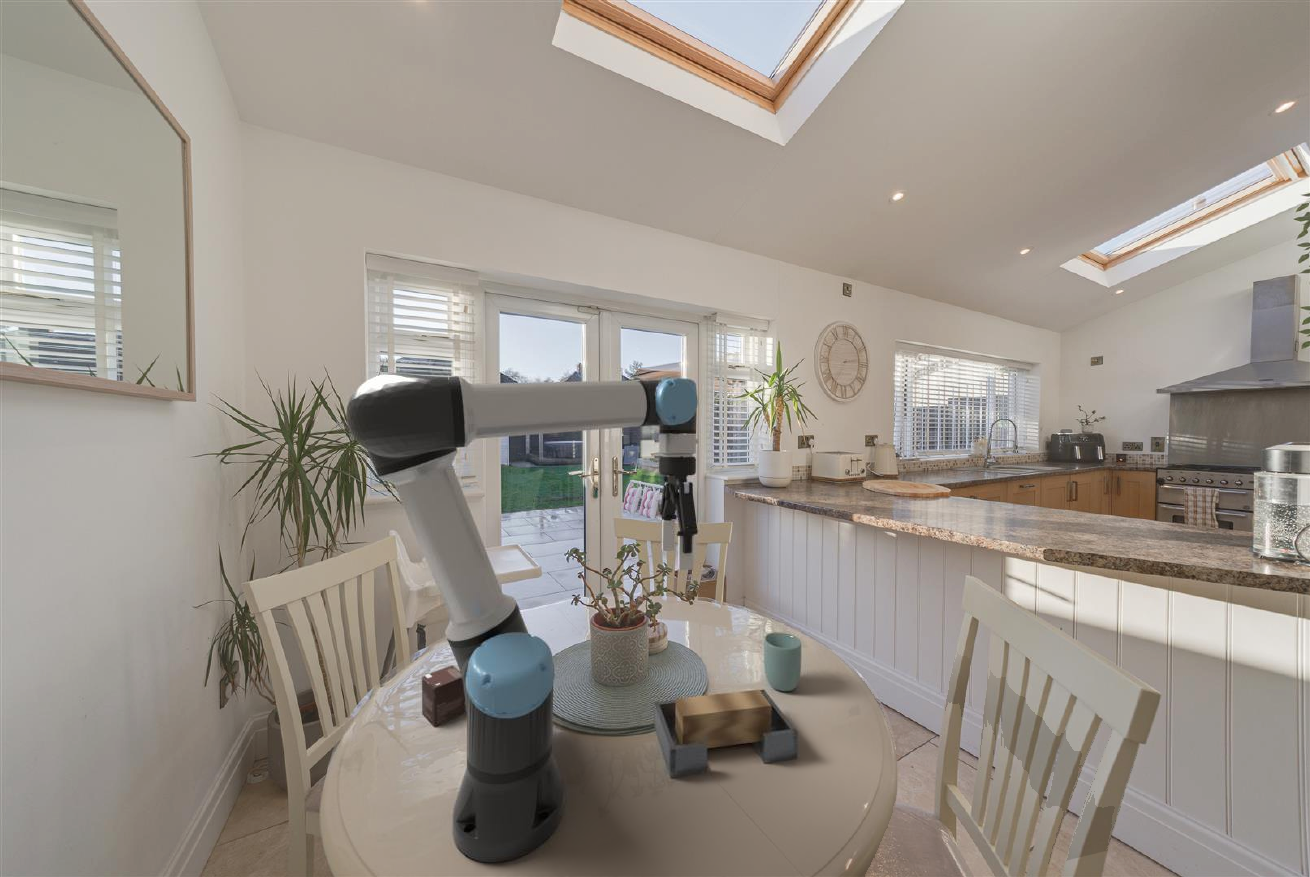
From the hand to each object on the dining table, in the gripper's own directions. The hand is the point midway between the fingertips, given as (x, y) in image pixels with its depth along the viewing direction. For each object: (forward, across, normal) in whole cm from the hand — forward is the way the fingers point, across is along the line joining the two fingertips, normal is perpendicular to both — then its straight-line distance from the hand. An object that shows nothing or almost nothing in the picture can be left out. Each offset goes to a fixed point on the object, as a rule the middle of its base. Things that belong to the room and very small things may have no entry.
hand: (676, 559), depth 91 cm
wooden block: (+28, -14, -5) cm, 31 cm away
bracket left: (+29, -14, +3) cm, 32 cm away
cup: (+29, 0, -24) cm, 38 cm away
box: (+29, +4, +45) cm, 54 cm away
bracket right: (+29, -14, -13) cm, 34 cm away
